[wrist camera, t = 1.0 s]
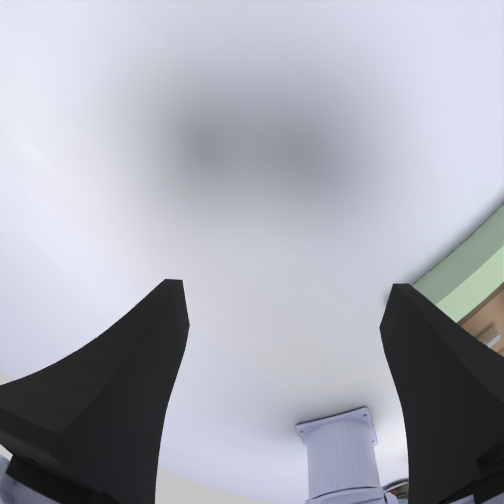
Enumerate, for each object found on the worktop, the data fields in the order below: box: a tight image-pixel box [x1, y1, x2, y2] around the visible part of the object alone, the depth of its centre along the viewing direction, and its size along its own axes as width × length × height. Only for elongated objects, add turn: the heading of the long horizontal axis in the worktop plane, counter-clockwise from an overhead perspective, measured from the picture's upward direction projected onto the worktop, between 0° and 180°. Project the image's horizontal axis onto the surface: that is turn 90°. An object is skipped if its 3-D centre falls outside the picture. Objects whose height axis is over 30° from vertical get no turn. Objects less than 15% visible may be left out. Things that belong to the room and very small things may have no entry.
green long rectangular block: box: [386, 204, 504, 323], centre depth 18 cm, size 13×3×4 cm, turn 135°
